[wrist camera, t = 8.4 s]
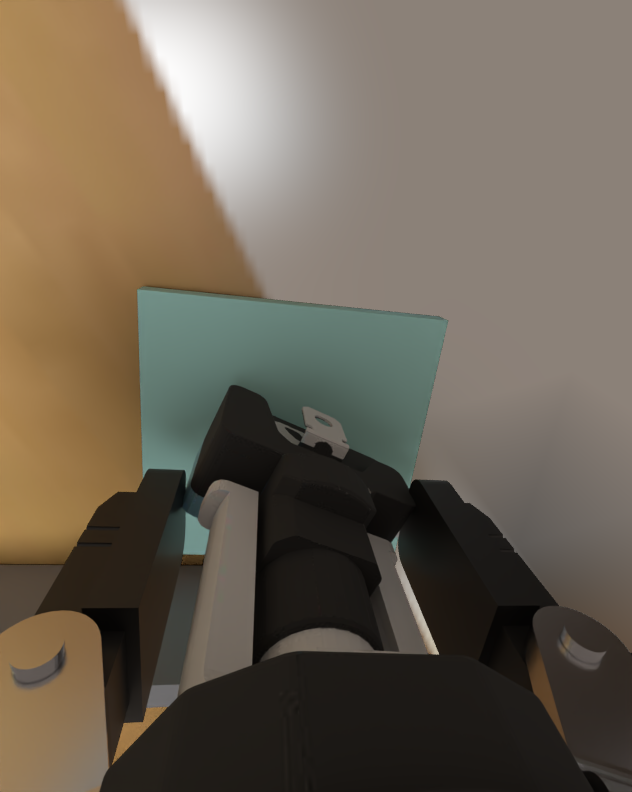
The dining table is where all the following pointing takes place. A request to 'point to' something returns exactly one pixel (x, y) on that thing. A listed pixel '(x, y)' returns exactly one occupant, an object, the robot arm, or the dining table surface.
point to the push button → (323, 640)
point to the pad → (281, 374)
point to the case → (29, 584)
